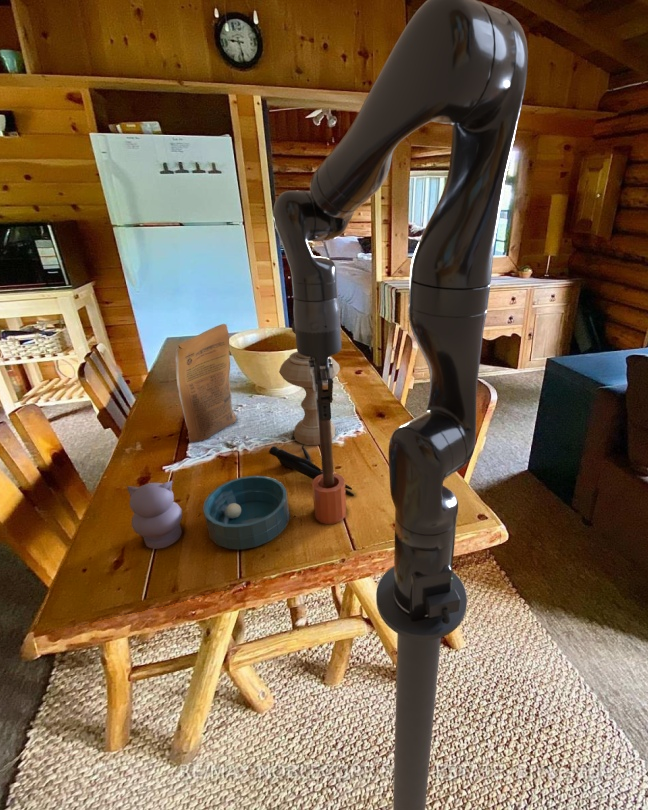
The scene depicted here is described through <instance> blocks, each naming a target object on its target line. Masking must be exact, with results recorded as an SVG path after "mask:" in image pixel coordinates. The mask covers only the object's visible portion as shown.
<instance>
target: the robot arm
mask: <svg viewBox="0 0 648 810" xmlns="http://www.w3.org/2000/svg"><path fill="white" fill-rule="evenodd" d="M528 66H529V49H528V40H527V37H526V35H525V31H524V29H523V27H522V25H521V23H520V22H519V21H518V20H517V19H516V18H515V17H514V16H513V15H511V14H510V13H508V12H507V11H504V10H503V9H500V8H497V7H495V6H492V5H489V4H487V3H485V2H482V1H480V0H426V1H425V2H424V3H422V5H420V7H419V8H418V9H417V10H416V12H415V13H414V14H413V16H412V17H411V18H410V20H409V21H408V23H407V24H406V26H405V28H404V30H403V31H402V33H401V34H400V36H399V38H398V39H397V41H396V43H395V44H394V46H393V48H392V50H391V52H390V54H389V56H388V57H387V60H386V61H385V63H384V65H383V67H382V68H381V71H379V74H378V76H377V78H376V79H375V81H374V83H373V85H372V87H371V89H370V91H369V92H368V94H367V96H366V98H365V100H364V102H363V104H362V106H361V107H360V109H359V111H358V113H357V114H356V117H355V118H354V120H353V122H352V124H351V125H350V127H349V129H347V132H346V133H345V135H344V136H343V137H342V139H341V140H340V141H338V142H339V143H337V144H336V146H335V147H334V148H333V149H332V150H331V151H330V153H329V154H328V155H327V156H326V157H325V159H324V160H323V161H322V162H321V163H320V164H319V165H318V167H317V168H316V169H315V171H314V173H313V174H312V176H311V179H310V184H309V190H285V191H282V192H281V193H279V194H278V196H277V198H276V200H275V202H274V205H273V222H274V226H275V229H276V233H277V234H278V235H277V236H278V237H279V240H280V242H281V245H282V247H283V250H284V254H285V257H286V260H287V263H288V267H289V269H290V274H291V285H292V296H293V309H292V311H293V322H294V324H295V333H294V335H295V343H296V344H295V345H296V352H297V351H298V353H299V354H301V355H303V356H306V357H310V360H308V365H309V369H310V374H311V381H312V384H313V390H314V392H315V394H316V403H318V409H317V412H318V416H319V420H320V421H327V420H332V411H331V410H332V409H331V408H332V407H331V404H332V403H333V401H334V398H333V392H334V391H333V390H334V378H332V374H333V372H334V371H333V363H331V358H329V357H332V356H335V355H337V354H339V353H340V352H341V351H342V330H341V329H342V327H341V325H342V324H341V310H340V303H339V297H338V280H337V278H338V277H337V267H336V264H335V262H334V261H333V260H332V259H330V258H328V257H324V256H323V257H322V256H316V255H314V254H313V252H312V250H311V247H310V245H309V243H312V242H325V241H326V242H327V241H331V240H335V239H336V238H338V237H341V235H342V234H344V232H345V231H346V229H347V228H348V226H349V224H350V222H351V220H352V218H353V216H354V214H355V212H356V211H357V210H358V209H359V208H360V207H362V206H363V205H364V204H365V203H366V202H368V201H369V200H370V199H371V198H372V197H373V196H374V195H375V194H376V193H377V192H378V191H379V190H380V188H382V186H383V184H384V183H385V181H386V179H387V177H388V174H389V172H390V168H391V165H392V158H393V154H394V150H395V149H396V148H397V147H398V145H399V144H400V143H401V142H402V141H404V139H406V138H407V137H409V135H411V134H412V133H414V132H415V131H417V130H419V129H420V128H422V127H423V126H425V125H427V124H429V123H432V122H434V123H439V124H443V125H451V126H452V131H451V132H452V133H451V134H452V135H451V148H450V155H449V156H450V157H449V165H448V172H447V176H446V181H445V184H444V187H443V189H442V190H443V191H442V194H441V196H440V198H439V200H438V203H437V205H436V207H435V209H434V210H433V212H432V215H431V217H430V218H429V221H428V222H427V224H426V226H425V229H424V230H423V232H422V234H421V237H420V238H419V241H418V243H417V245H416V248H415V250H414V253H413V257H412V259H411V264H410V272H409V290H408V291H409V294H408V321H409V326H410V329H411V333H412V335H413V338H414V339H415V343H416V344H417V346H418V348H419V351H420V352H421V354H422V356H423V358H424V360H425V362H426V365H427V368H428V374H429V390H428V391H429V392H428V399H427V406H426V409H425V411H424V413H422V414H420V415H418V416H417V417H415V418H413V419H410V420H408V421H407V422H405V423H404V424H401V425H400V426H398V427H396V429H395V430H394V431H393V432H392V434H391V435H390V438H389V442H388V453H387V455H388V475H389V492H390V496H391V497H390V498H391V500H392V503H393V506H394V513H395V514H394V516H395V517H394V559H393V561H394V563H393V566H394V587H393V597H394V601H395V603H396V605H397V606H398V608H399V609H400V610H401V611H402V612H404V613H405V614H407V615H409V617H410V619H411V621H412V622H414V621H419V620H423V619H428V618H433V617H436V616H441V615H444V618H443V619H442V621H443V623H445V624H448V623H449V622H450V616H449V613H454V612H458V611H459V606H460V598H459V596H458V594H457V592H456V590H455V589H452V590H451V582H452V572H453V564H454V554H455V544H456V533H457V525H458V515H459V502H458V498H457V496H456V494H455V493H454V492H453V490H451V489H449V488H448V487H447V486H445V485H444V481H446V480H447V479H448V478H450V477H451V476H452V475H454V474H456V473H457V472H458V471H460V470H461V469H462V468H464V467H465V466H466V465H467V464H468V463H469V462H470V460H471V459H472V457H473V454H474V451H475V448H476V439H477V398H478V397H477V396H478V381H479V379H478V378H479V373H480V372H479V371H480V365H481V358H482V357H481V355H482V347H483V337H484V330H485V325H486V318H487V313H488V306H489V298H490V291H491V283H492V272H493V263H494V254H495V246H496V240H497V233H498V227H499V221H500V214H501V206H502V199H503V193H504V187H505V183H506V182H505V181H506V177H507V171H508V166H509V163H510V158H511V154H512V149H513V145H514V141H515V137H516V131H517V127H518V122H519V118H520V114H521V110H522V105H523V99H524V94H525V90H526V85H527V78H528V70H529V69H528V68H529V67H528Z"/></svg>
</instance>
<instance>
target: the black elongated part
mask: <svg viewBox="0 0 648 810" xmlns="http://www.w3.org/2000/svg"><path fill="white" fill-rule="evenodd" d="M304 447H305V444H302V446H301V450H302V453H303V455H304V457H305V458H304V457H301V456H299V455H296V454H293V453H291V452H289V451H287V450H285V449H282V448H279V447H277V446H275V445H273V446H271V447H270V449H269V452H268V453H269V454H270V455H272V456H274V457H276V458H277V460H278V461H279V463H280V465H281V466H283V467H288V468H290V469H292V470H294V471H296V472H298V473H300V474H302V475H304V476H306V477H308V478H310V479H312V480H314V479H315V478H316V477H317V476H318V475H321V474H323V473H322V468H320V467H319V466H317V465H316V464H314V462H312V461H311V456H310V454H309V452H308V451H307V450H306V448H304ZM349 490H350V491H349ZM352 490H353V488H352V487H351V486H350V485H348V484H346V483H345V491H346V495H349V496H350V497H354V496H355V493H353V492H351V491H352Z"/></svg>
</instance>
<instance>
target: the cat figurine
mask: <svg viewBox="0 0 648 810" xmlns="http://www.w3.org/2000/svg"><path fill="white" fill-rule="evenodd" d="M172 487H173V480H169V481H167V482H164V483H161V482H160V483H159V482H150V483H146V484H143V485H141V486H139V487H138V486H130V485H126V488H127V491H128V494H129V496H130V498H129V507H130V509H131V511H132V512H133V515H132V517H131V523H130V524H131V525H130V526H131V528H132V529H133V531H134V532H135V533H136V534H137V535H139V536H141V537H142V538H143V541H144V544H145V545H146V547H148V548H149V549H154V550H158V549H159V550H160V549H164V548H167V547H169V546H171V545H173V544H174V543H176V542H177V541H178V540H179V539H180V538H181V536H182V527H181V524H180V523H181V521H182V520H183V509H182V507H180V505H179V504H178V503H177V502H176V501H174V500H175V494H174V492H173V490H172V489H173V488H172Z"/></svg>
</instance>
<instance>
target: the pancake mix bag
mask: <svg viewBox="0 0 648 810" xmlns="http://www.w3.org/2000/svg"><path fill="white" fill-rule="evenodd" d="M228 329H229V328H228V325H227V323H221V324H218V325H215V326H214V327H212V328H211V327H210V328H209V329H207V330H205V331H202V332H201V333H199V334H198V335H196V336H193V337H191V338H188V339H186V340H182V341H181V342H178V343H177V346H178V348H175V350H174V351H175V353H174V354H175V358H174V359H175V361H174V362H175V375H176V377H175V378H176V385H177V390H178V397H179V400H180V404H181V409H182V412H183V417H184V421H185V425H186V429H187V432H188V441H189V443H193V442H194V443H195V442H202V441H205V440H208V439H210V438H212V437H213V436H214V435H217V434H218V433H219V432H221V431H223V430H225V429H226V428H228V427H230V426H231V425H233V424H234V423H236V421H237V418H236V412H235V411H234V409H233V404H232V393H231V391H232V389H231V384H230V371H231V357H230V335H229V330H228Z"/></svg>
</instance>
